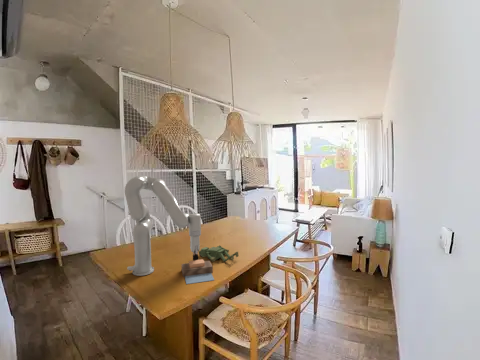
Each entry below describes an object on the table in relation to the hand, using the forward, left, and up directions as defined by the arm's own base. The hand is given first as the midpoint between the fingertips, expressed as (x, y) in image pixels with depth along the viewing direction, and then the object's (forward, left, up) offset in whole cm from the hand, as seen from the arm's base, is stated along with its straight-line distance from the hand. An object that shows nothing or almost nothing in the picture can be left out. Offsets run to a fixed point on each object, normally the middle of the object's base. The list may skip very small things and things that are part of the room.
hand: (195, 260), depth 166 cm
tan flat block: (0, -6, -1) cm, 6 cm away
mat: (0, -16, -5) cm, 17 cm away
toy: (+17, +12, -5) cm, 21 cm away
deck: (0, -6, -5) cm, 8 cm away
